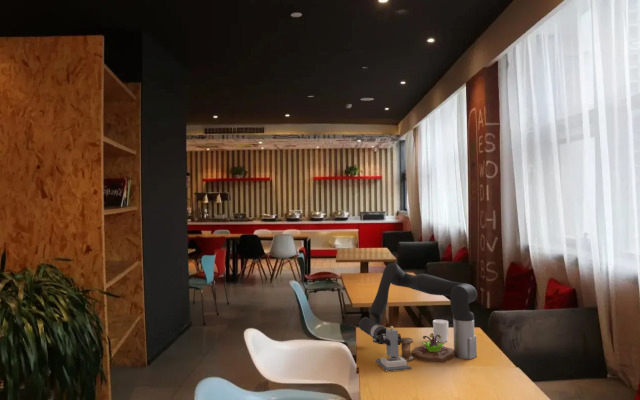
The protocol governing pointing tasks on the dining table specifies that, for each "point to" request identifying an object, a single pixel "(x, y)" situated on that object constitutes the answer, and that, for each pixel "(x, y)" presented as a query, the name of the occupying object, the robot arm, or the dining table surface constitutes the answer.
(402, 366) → the grey u-shaped stand base
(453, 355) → the plant
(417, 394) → the dining table surface
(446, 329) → the white cup
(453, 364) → the dining table surface
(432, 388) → the dining table surface
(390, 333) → the gray block with knob
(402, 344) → the bobbin
